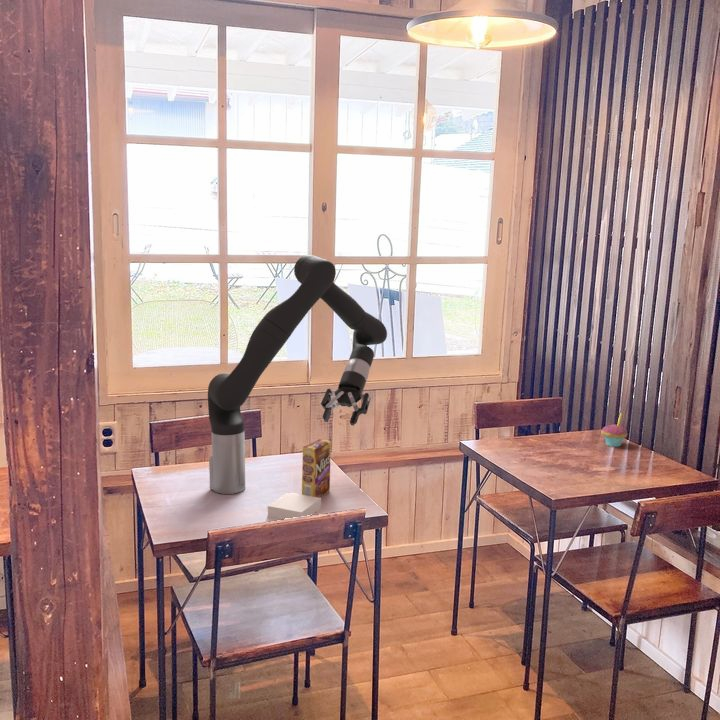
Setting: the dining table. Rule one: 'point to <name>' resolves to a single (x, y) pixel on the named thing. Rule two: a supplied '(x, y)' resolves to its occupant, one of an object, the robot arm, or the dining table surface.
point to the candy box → (316, 468)
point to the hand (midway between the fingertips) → (338, 422)
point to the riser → (294, 506)
